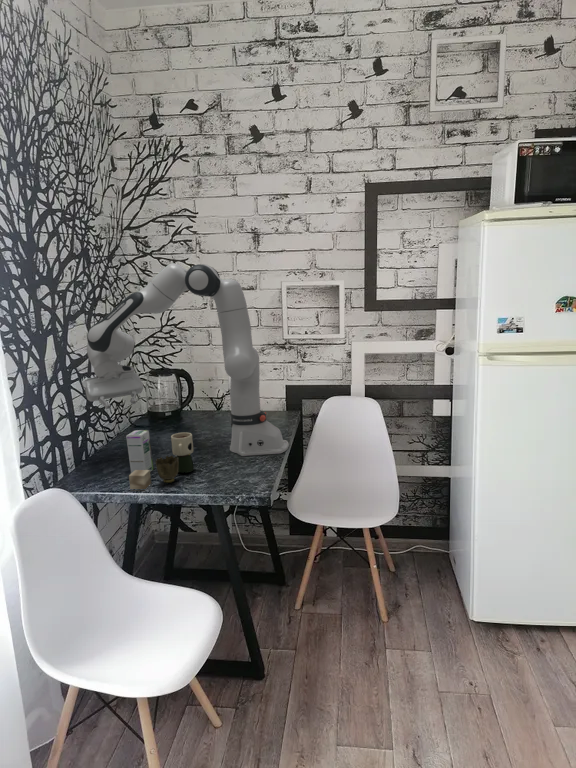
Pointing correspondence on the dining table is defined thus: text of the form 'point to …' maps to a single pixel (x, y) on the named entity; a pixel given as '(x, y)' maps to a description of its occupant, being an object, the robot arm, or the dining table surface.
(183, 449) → the character mug
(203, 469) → the dining table surface
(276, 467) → the dining table surface
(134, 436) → the syrup box
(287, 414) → the dining table surface
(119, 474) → the dining table surface
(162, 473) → the cup
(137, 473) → the birch block
